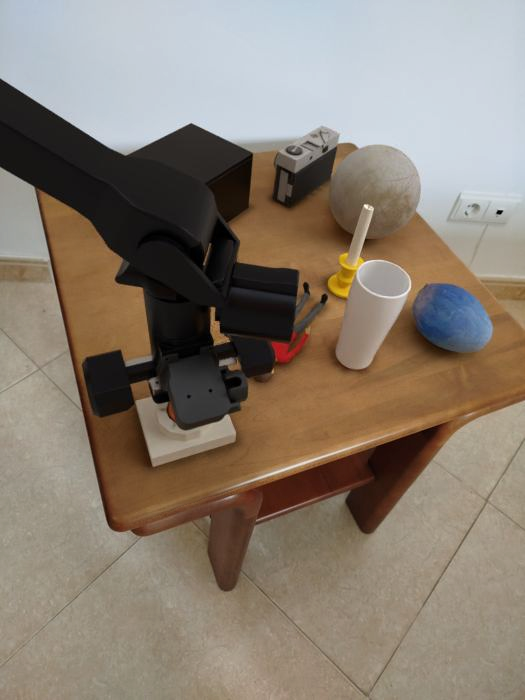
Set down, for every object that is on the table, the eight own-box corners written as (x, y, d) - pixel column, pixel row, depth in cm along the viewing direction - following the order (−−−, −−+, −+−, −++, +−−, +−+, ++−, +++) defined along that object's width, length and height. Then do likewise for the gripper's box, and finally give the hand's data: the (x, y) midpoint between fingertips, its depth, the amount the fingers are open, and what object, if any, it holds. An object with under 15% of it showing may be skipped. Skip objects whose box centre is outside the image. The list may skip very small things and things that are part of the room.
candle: (341, 271, 80) (366, 187, 68) (366, 288, 78) (396, 205, 65) (320, 285, 77) (342, 200, 65) (345, 303, 75) (373, 220, 63)
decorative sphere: (392, 206, 93) (419, 129, 81) (413, 258, 84) (447, 180, 72) (315, 202, 91) (332, 124, 79) (328, 255, 82) (348, 175, 70)
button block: (152, 467, 55) (149, 451, 52) (137, 410, 60) (133, 392, 57) (235, 442, 58) (237, 425, 55) (214, 389, 63) (215, 371, 60)
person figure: (331, 286, 71) (271, 368, 60) (333, 307, 73) (276, 389, 63) (300, 280, 73) (237, 358, 63) (303, 301, 76) (243, 379, 65)
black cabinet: (191, 248, 80) (189, 191, 71) (131, 213, 84) (124, 156, 76) (248, 207, 88) (253, 152, 80) (192, 177, 92) (191, 122, 84)
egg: (424, 246, 69) (515, 309, 64) (418, 275, 77) (499, 334, 71) (382, 287, 68) (471, 355, 63) (380, 313, 76) (459, 375, 71)
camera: (298, 163, 99) (306, 114, 91) (331, 180, 96) (343, 131, 89) (255, 190, 92) (260, 139, 84) (290, 209, 89) (298, 158, 81)
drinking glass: (385, 368, 68) (423, 291, 56) (343, 381, 66) (373, 303, 54) (362, 333, 71) (393, 254, 60) (321, 344, 69) (345, 264, 58)
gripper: (87, 418, 37) (115, 498, 49) (309, 359, 42) (285, 444, 54) (65, 313, 43) (96, 407, 55) (262, 274, 48) (250, 367, 60)
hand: (184, 407), depth 56 cm, fingers closed, pressing on start button
